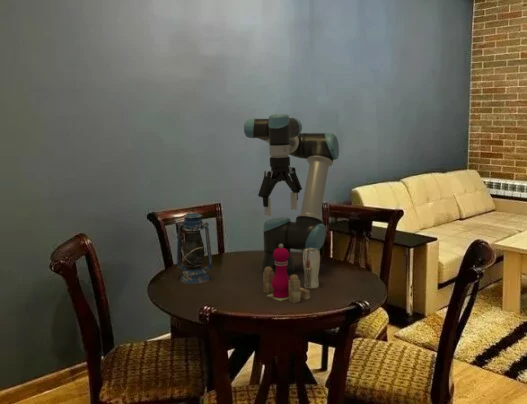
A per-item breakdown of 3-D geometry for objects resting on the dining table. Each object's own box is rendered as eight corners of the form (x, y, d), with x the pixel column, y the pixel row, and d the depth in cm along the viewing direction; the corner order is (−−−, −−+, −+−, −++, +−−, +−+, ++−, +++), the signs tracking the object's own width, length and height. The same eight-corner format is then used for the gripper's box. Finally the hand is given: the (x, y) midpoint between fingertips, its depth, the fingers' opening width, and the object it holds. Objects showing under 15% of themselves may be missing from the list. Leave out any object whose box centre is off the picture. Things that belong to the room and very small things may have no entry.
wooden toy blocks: (258, 293, 213) (257, 267, 211) (278, 287, 219) (278, 262, 218) (289, 304, 199) (289, 277, 198) (310, 298, 206) (310, 272, 204)
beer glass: (321, 284, 222) (321, 248, 220) (317, 289, 216) (317, 252, 213) (305, 283, 224) (304, 247, 222) (300, 288, 218) (300, 251, 215)
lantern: (172, 283, 227) (169, 211, 223) (182, 274, 239) (179, 206, 234) (208, 284, 224) (205, 212, 219) (216, 276, 236) (214, 207, 231)
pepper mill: (270, 292, 212) (270, 242, 209) (289, 292, 212) (289, 241, 209) (272, 298, 204) (272, 246, 201) (292, 298, 205) (292, 245, 202)
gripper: (261, 160, 194) (262, 219, 198) (310, 153, 210) (311, 208, 214) (247, 158, 199) (249, 216, 203) (296, 152, 215) (297, 205, 219)
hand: (281, 212), depth 208 cm, fingers open, 13 cm apart
